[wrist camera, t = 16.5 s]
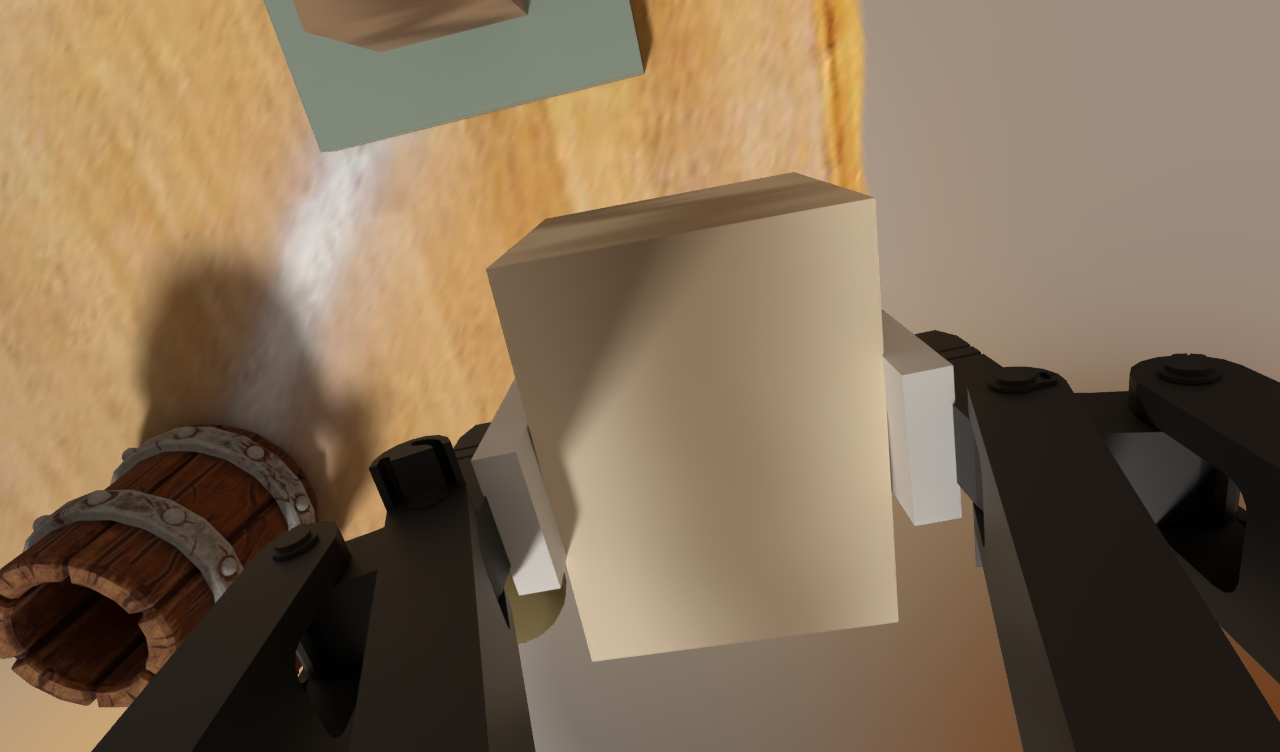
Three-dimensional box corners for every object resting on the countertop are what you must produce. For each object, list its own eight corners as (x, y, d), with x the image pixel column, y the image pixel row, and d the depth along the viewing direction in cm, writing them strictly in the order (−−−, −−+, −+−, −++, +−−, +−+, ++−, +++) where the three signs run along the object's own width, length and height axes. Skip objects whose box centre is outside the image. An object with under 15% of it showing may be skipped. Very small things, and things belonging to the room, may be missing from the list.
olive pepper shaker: (568, 429, 38) (535, 541, 28) (607, 512, 40) (591, 645, 30) (476, 462, 39) (412, 582, 29) (519, 541, 41) (474, 680, 31)
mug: (166, 366, 37) (-51, 548, 24) (396, 479, 42) (323, 679, 29) (92, 504, 40) (-134, 730, 27) (313, 593, 46) (213, 818, 32)
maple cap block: (610, 500, 19) (592, 661, 13) (545, 219, 16) (485, 269, 10) (822, 468, 18) (898, 621, 12) (793, 172, 15) (875, 198, 10)
